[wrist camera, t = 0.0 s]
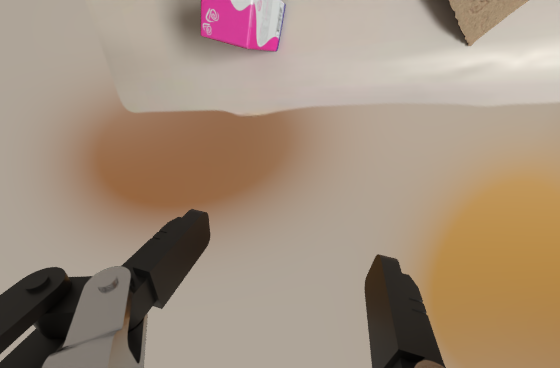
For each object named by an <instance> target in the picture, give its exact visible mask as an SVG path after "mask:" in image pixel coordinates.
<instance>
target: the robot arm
mask: <svg viewBox="0 0 560 368" xmlns="http://www.w3.org/2000/svg"><path fill="white" fill-rule="evenodd" d="M209 240H210V228H209V218H208V214H207V212H202V211H198V210H194V209H191V210H189V211H188V212H187V213H186V214H185V215H184V216H183V217H182V218H181V217H177V218H176V219H174V220H172V221H170V222H168V223H167V224H166V225H165V226H164V227H162V228H161V229H160V231H159V232H157V233H156V234H155V235H154V236H153V238H152V239H150V240H149V241H148V242H147V243H145V244H144V245H143V246H142V247H141V248H140V249H139V250H138V251H137V252H136V253H135V254H134V255H133V256H132V257H131V258H129V259H128V260H127V261H126V262H125V263H124V264H123V265H122V266H115V267H110V268H107V269H105V270H102V271H100V272H99V273H97V274H95V275H94V276H89V277H68V276H67V274H66V273H65V271H64V270H63V269H62V268H58V267H51V268H45V269H42V270H39V271H36V272H34V273H32V274H30V275H28V276H26V277H25V278H23V279H22V280H20V281H19V282H18V283H16V284H15V285H13V286H12V287H11V288H9V289H8V290H7V291H5V292H4V293H3V294H1V295H0V354H1V353H2V352H3V351H4V350H5V349H6V348H7V347H9V345H11V344H12V343H13V342H14V341H15V340H16V339H17V338H18V337H20V336H21V335H22V334H23V333H24V332H25V331H26V330H27V329H28V328H29V327H30V326H32V325H34V326H35V327H36V329H35V330H34V331H33V332H32V333H31V334H30V335H29V336H28V337H27V338H26V339H25V340H23V341H22V342H21V343H20V344H19V345H18V346H17V347H16V348H15V349H14V350H13V351H12V352H11V353H10V354H8V355H7V356H6V357H5V358H4V359H3V360H2V361H1V362H0V368H144V356H145V344H146V331H147V318H148V316H147V313H148V311H149V310H150V309H151V307H152V306H155V307H158V308H161V309H162V308H163V307H164V306H165V304H166V303H167V301H168V300H169V299H170V297H171V296H172V295H173V293H174V292H175V290H176V289H177V288H178V286H179V285H180V283H181V282H182V281H183V279H184V278H185V276H186V275H187V274H188V272H189V271H190V270H191V268H192V267H193V265H194V264H195V263H196V261H197V260H198V259H199V257H200V256H201V254H202V253H203V252H204V250H205V249H206V247H207V246H208V243H209ZM365 299H366V309H367V319H368V329H369V339H370V350H371V359H372V368H446V367H445V365H444V363H443V360H442V357H441V354H440V351H439V348H438V345H437V342H436V339H435V336H434V334H433V330H432V327H431V324H430V321H429V318H428V316H427V315H426V309H425V306H424V304H423V303H422V302H423V300H422V297H421V294H420V291H419V288H418V287H417V285H416V284H415V283H414V281H413V280H412V278H411V277H410V276H409V275H406V274H403V273H402V272H401V269H400V265H399V262H398V260H397V259H395V258H391V257H387V256H382V255H377V256H376V257H375V259H374V261H373V264H372V266H371V268H370V270H369V272H368V274H367V277H366V280H365Z"/></svg>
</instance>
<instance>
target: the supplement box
mask: <svg viewBox="0 0 560 368" xmlns="http://www.w3.org/2000/svg"><path fill="white" fill-rule="evenodd" d="M285 5H286V4H285V3H284V2H283V1H281V0H201V36H203V37H207V38H210V39H214V40H217V41H221V42H224V43H228V44H232V45H235V46H239V47H242V48H246V49H256V50H266V51H277V49H278V45H279V40H280V34H281V28H282V23H283V17H284V11H285Z"/></svg>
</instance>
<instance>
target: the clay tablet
mask: <svg viewBox="0 0 560 368" xmlns="http://www.w3.org/2000/svg"><path fill="white" fill-rule="evenodd" d="M449 1H450V5H451V7H452V9H453V10H454V11H455V13H456V15H455V18H456V19H458V25H459V26H460V29H461V30H462V33H463V34H464V35H465V40H467V43H469V44H468V46H471V45H472V44H473V43H474V42H475V41H476V40H477V39H479V38H480V37H481V36H483V35H484V34H485V33H486V32H488V31H489V30H490V29H491V28H493V27H494V26H495V25H497V24H498V23H499V22H501V21H502V20H503V19H504V18H506V17H507V16H508V15H510V14H511V13H512V12H514V11H515V10H516V9H518V8H519V7H520V6H522V5H523V4H525V3H526V2H527V1H529V0H449Z"/></svg>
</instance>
